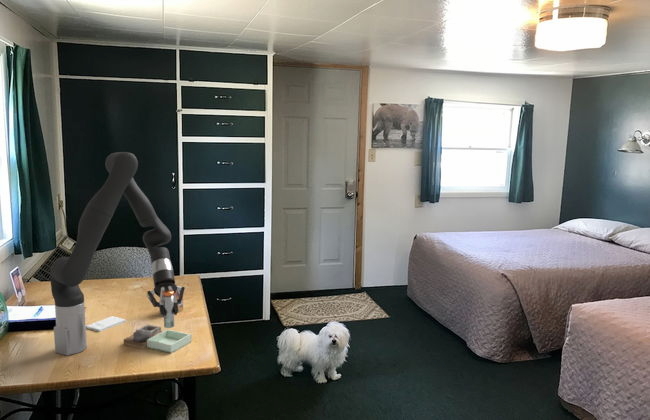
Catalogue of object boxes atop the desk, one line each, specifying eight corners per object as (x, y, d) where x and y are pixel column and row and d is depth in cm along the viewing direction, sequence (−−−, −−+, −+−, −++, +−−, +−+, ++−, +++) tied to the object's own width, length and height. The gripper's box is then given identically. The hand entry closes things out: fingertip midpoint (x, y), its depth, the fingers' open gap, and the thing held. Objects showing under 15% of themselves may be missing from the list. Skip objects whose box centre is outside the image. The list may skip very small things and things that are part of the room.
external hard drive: (125, 323, 208) (99, 333, 197) (111, 319, 211) (85, 329, 201) (125, 319, 208) (99, 329, 197) (111, 315, 211) (85, 325, 200)
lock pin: (170, 328, 183) (168, 294, 181) (161, 327, 184) (159, 292, 182) (177, 325, 186) (176, 291, 184) (168, 323, 188) (167, 289, 186)
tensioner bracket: (142, 349, 182) (142, 334, 181) (123, 344, 186) (123, 330, 185) (166, 336, 193) (165, 323, 192) (147, 332, 197) (147, 319, 196)
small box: (169, 315, 215) (168, 291, 214) (160, 313, 218) (159, 289, 217) (183, 310, 222) (183, 287, 221) (175, 307, 225) (174, 284, 223)
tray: (171, 353, 179) (171, 345, 179) (147, 347, 183) (146, 339, 183) (191, 341, 189) (191, 334, 189) (167, 336, 193) (167, 329, 193)
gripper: (143, 270, 186) (150, 313, 177) (183, 266, 192) (191, 307, 183) (142, 280, 191) (148, 322, 182) (181, 276, 197) (188, 316, 189)
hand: (169, 314), depth 183 cm, fingers closed on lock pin, 3 cm apart
